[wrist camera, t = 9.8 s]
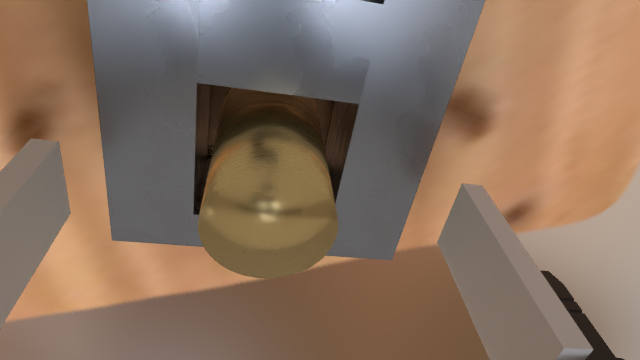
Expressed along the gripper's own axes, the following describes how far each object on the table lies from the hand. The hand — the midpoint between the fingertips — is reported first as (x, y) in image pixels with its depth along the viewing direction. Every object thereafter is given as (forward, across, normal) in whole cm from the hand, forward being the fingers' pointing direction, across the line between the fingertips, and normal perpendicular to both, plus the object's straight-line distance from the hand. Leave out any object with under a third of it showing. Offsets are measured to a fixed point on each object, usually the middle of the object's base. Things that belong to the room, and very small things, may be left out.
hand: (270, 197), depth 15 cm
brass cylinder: (+7, 0, 0) cm, 7 cm away
